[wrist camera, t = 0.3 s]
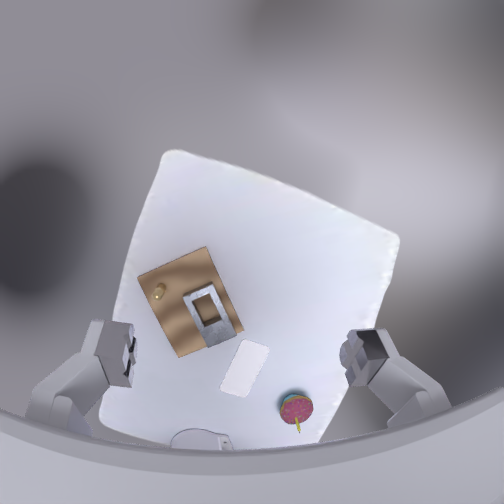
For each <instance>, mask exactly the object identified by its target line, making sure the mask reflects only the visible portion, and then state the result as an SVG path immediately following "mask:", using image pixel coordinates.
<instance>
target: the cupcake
mask: <svg viewBox="0 0 504 504" xmlns="http://www.w3.org/2000/svg"><path fill="white" fill-rule="evenodd" d="M312 412H313V404H312V401H311V399H309V398H308V397H305V396H301V395H296V394H291V395H289V396H287V397H286V398H285V399H284V401H283V405H282V407H281V409H280V416H281V418H282V419H283V420H284V421H285V422H286V423H288V424H296V425H297V429H298V431H299V433H300V431H301V429H300V426H299V423H301V422H304V421H306V420H307V419H308V418H309V416H311V413H312Z"/></svg>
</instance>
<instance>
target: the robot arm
mask: <svg viewBox="0 0 504 504" xmlns="http://www.w3.org/2000/svg"><path fill="white" fill-rule="evenodd" d="M133 335H134V326H133V324H130V323H122V322H115V321H108V320H100V319H93V320H92V321H91V323H90V326H89V329H88V331H87V334H86V337H85V340H84V343H83V346H82V349H81V352H80V353H75V354H74V355H73V356H72V357H71V358H69V359H68V360H67V361H66V362H64V363H63V364H62V365H61V366H60V367H58V368H57V369H56V370H55V371H53V372H52V373H51V374H50V375H49V376H47V377H46V378H45V379H44V380H43V381H42V382H40V383H39V384H38V385H37V386H36V387H35V388H34V390H33V393H32V396H31V399H30V402H29V405H28V408H27V412H26V415H25V418H24V417H21V416H19V415H16V414H13V413H11V412H8V411H5V410H3V409H1V408H0V504H504V387H498V388H495V389H493V390H491V391H489V392H487V393H485V394H483V395H481V396H479V397H476V398H474V399H472V400H469V401H467V402H465V403H462V404H460V405H457V406H455V407H451V404H450V402H449V400H448V398H447V396H446V394H445V392H444V390H443V389H442V386H441V385H440V384H439V383H437V382H436V381H435V380H434V379H432V378H431V377H429V376H428V375H427V374H426V373H424V372H423V371H421V370H420V369H419V368H418V367H416V366H415V365H413V364H412V363H411V362H410V361H408V360H407V359H405V358H404V357H400V356H399V354H398V352H397V350H396V348H395V346H394V344H393V342H392V340H391V338H390V336H389V334H388V332H387V331H386V329H384V328H373V329H372V328H369V329H354V330H351V331H349V333H348V335H347V338H348V340H347V341H345V342H344V343H343V344H342V346H341V348H340V355H339V356H340V361H341V364H342V366H343V367H345V368H346V369H347V370H346V373H345V375H346V378H347V381H348V384H349V387H356V386H364V385H368V387H369V388H370V390H371V391H372V392H374V394H375V395H376V396H377V397H378V398H379V399H380V400H382V402H383V403H384V404H385V405H386V406H387V407H388V408H390V410H391V411H392V412H393V413H394V414H395V415H394V416H393V417H392V418H390V419H389V420H388V422H387V425H388V429H384V430H380V431H376V432H372V433H367V434H363V435H358V436H354V437H349V438H344V439H338V440H332V441H327V442H320V443H313V444H306V445H297V446H288V447H277V448H264V449H243V450H233V447H232V445H231V442H230V439H229V437H228V436H227V435H222V434H214V433H212V432H209V431H206V430H200V429H191V430H186V431H182V432H180V433H178V434H177V435H176V436H175V437H174V438H173V439H172V441H171V448H167V447H166V448H165V447H156V446H147V445H139V444H132V443H125V442H119V441H113V440H108V439H102V438H97V437H92V433H93V430H92V428H91V427H90V426H89V424H88V423H87V422H86V420H85V419H84V417H83V416H85V414H86V413H87V412H88V411H89V410H90V409H91V407H92V406H93V405H94V404H95V403H96V402H97V401H98V399H99V398H100V397H101V396H102V395H103V394H104V393H105V391H106V390H107V389H108V388H109V387H110V386H109V385H112V386H120V387H129V388H132V382H133V376H134V371H133V367H132V366H133V365H134V364H135V363H136V358H137V341H136V338H135V337H134V336H133ZM225 441H226V442H225Z"/></svg>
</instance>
